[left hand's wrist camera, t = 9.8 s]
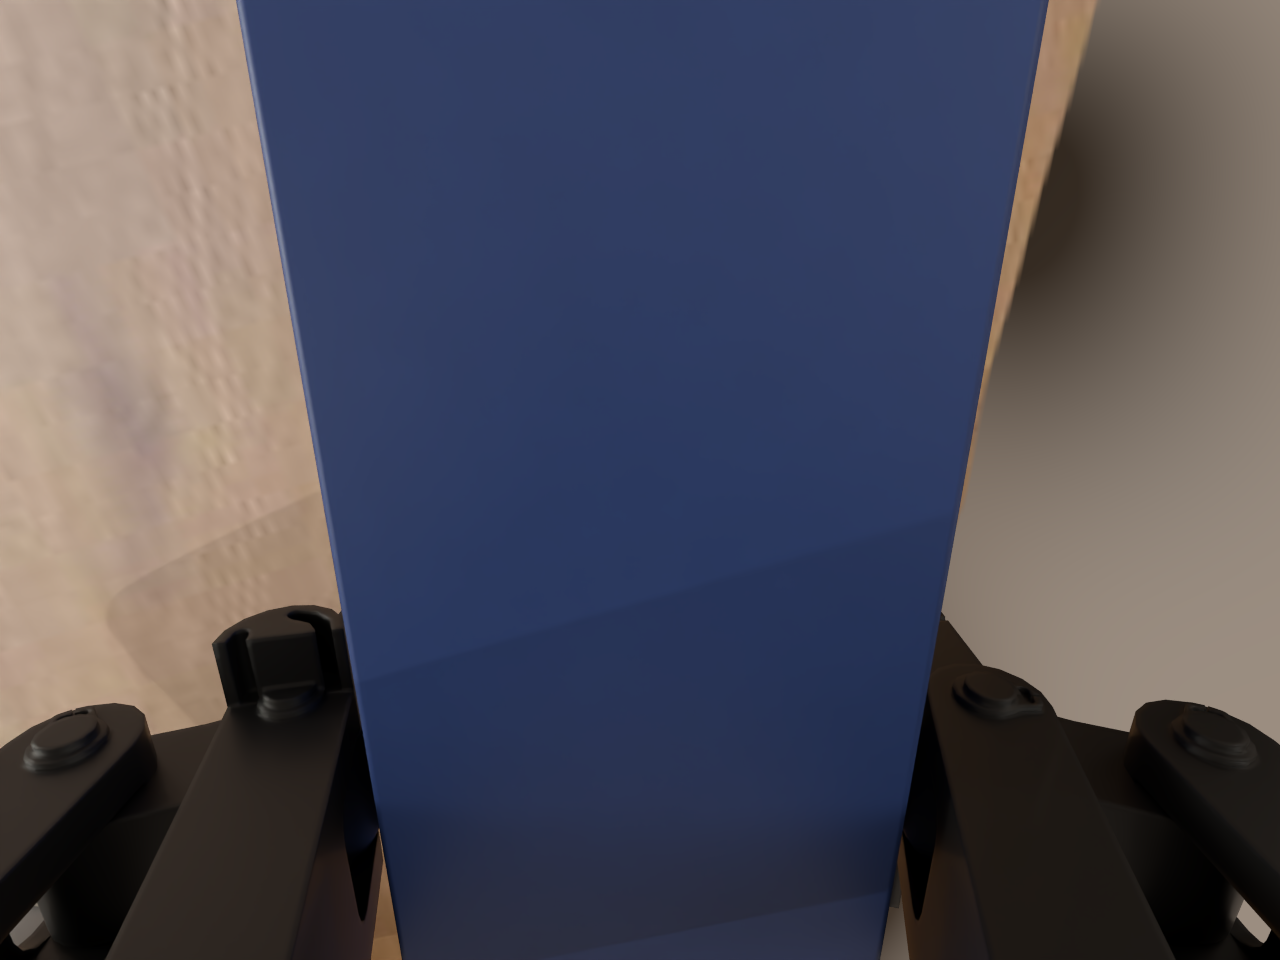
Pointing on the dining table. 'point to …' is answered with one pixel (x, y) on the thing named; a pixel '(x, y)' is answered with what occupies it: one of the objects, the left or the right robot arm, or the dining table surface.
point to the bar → (641, 438)
